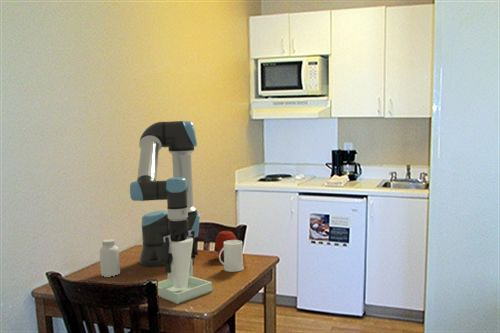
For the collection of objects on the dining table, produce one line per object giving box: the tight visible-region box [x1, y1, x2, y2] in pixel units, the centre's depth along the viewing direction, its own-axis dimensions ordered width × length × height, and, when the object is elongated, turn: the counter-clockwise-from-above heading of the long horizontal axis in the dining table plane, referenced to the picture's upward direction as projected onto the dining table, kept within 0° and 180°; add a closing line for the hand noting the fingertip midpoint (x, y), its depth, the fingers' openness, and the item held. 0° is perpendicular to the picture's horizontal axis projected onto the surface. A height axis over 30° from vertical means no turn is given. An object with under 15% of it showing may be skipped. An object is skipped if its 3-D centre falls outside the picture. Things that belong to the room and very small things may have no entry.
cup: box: [168, 237, 193, 288], centre depth 192 cm, size 11×11×18 cm
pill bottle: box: [99, 238, 121, 278], centre depth 218 cm, size 8×8×15 cm
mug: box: [218, 239, 245, 273], centre depth 219 cm, size 12×8×12 cm
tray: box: [157, 275, 213, 305], centre depth 193 cm, size 17×17×4 cm
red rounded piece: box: [214, 228, 238, 259], centre depth 238 cm, size 10×10×14 cm
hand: (180, 277), depth 192 cm, fingers closed on cup, 8 cm apart
